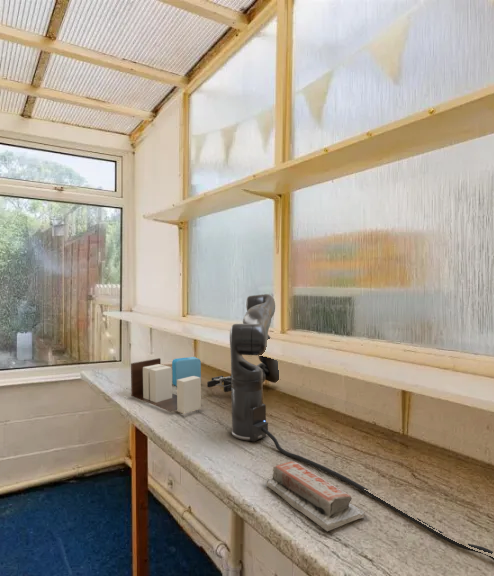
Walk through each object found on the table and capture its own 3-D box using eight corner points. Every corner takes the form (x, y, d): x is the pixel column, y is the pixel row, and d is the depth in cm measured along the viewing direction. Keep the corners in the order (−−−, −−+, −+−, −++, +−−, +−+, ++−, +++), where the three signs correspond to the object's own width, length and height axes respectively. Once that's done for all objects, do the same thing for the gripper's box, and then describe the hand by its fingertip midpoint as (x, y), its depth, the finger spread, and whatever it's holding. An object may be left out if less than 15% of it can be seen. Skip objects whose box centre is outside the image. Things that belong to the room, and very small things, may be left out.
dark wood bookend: (199, 405, 142) (199, 367, 142) (170, 414, 133) (170, 374, 133) (158, 391, 161) (158, 357, 161) (130, 398, 152) (130, 363, 152)
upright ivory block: (201, 411, 136) (200, 377, 136) (184, 416, 131) (183, 381, 131) (194, 408, 139) (193, 375, 138) (177, 413, 134) (176, 379, 133)
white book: (165, 395, 152) (164, 365, 151) (148, 399, 146) (148, 368, 146) (159, 393, 154) (159, 363, 154) (143, 397, 149) (142, 367, 149)
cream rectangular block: (172, 398, 148) (171, 367, 148) (155, 402, 143) (155, 370, 143) (166, 396, 151) (166, 365, 151) (150, 400, 146) (149, 369, 145)
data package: (196, 382, 173) (196, 356, 173) (201, 385, 169) (200, 358, 169) (172, 386, 168) (171, 358, 168) (176, 388, 164) (175, 360, 164)
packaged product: (264, 465, 86) (298, 455, 90) (264, 486, 86) (298, 476, 90) (327, 507, 70) (365, 494, 74) (327, 534, 70) (365, 518, 74)
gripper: (230, 367, 159) (202, 373, 149) (258, 373, 148) (230, 380, 138) (231, 385, 159) (202, 392, 149) (258, 392, 148) (230, 401, 138)
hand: (216, 386), depth 143 cm, fingers open, 8 cm apart
